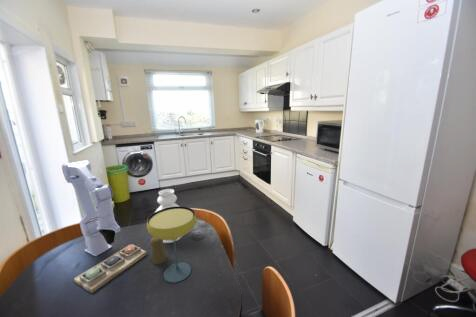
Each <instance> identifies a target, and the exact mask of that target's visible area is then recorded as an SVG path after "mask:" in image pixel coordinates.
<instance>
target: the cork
mask: <svg viewBox="0 0 476 317" xmlns="http://www.w3.org/2000/svg"><path fill="white" fill-rule="evenodd" d="M163 244H164V243H163V239H158V238H155V237H153V236H152V238H151V239H150V245H151V247H152V248H151V262H152V264H153V265H160V264H162V263H165V262H166V260H167V255H166V252H165V249H164V246H163Z"/></svg>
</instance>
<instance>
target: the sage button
mask: <svg viewBox="0 0 476 317" xmlns="http://www.w3.org/2000/svg"><path fill="white" fill-rule="evenodd" d="M89 269H90V268H89ZM89 269H88V270H89ZM86 271H87V270H86ZM98 274H100V272H99V269H98V268H93V269H90V270H89V271H87V272H86V279H88V280H91V279H92V278H94V277H95V276H97V275H98Z"/></svg>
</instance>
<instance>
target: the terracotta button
mask: <svg viewBox="0 0 476 317" xmlns="http://www.w3.org/2000/svg"><path fill="white" fill-rule="evenodd" d="M127 246H128V245H127ZM127 246H125V247H126V248H125V247H124V248H125V249H124V251H125V254H127V255H129V254H131V253H132V252H134V251H135V246H136V245H135V246H128V247H127Z"/></svg>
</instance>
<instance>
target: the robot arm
mask: <svg viewBox="0 0 476 317" xmlns="http://www.w3.org/2000/svg"><path fill="white" fill-rule="evenodd" d="M61 170H62V174H63V176H64V180H65V181H66V183H67V184H68V183H69V184H71V185H72V186H73V188H74V191H75V194H76V196H77V199H78V202H79V204H80V207H81V209H82V212H83V214H84V216H83V217H82V218H81V219H80V221H79V226H80V230H81V234H82V236H83V237H84V244H85V247H86V248H85V249H84V252H86V253H88V254H90V255H92V256H94V257H97V256H99V255H101V254H102V253H104V252H106V251H108V250H110V249H112V248H113V246H112V244H113V243H114V242H115V238H116V234H117V233H119V232H121V226H119V224H118V222H117V221H116V220H115V213H114V209H113V208H114V207H113V203H112V202H113V201H112V198H114V191H113V189H112V187H111V185H110V184H106V183H105V184H104V183H103V181H102V180H101V179H100V178H99V177H98V176H94V174H93V173H92V165H91V163H90V162H89V160H87V159H85V160H79V161H75V162H67V163H63V164H62V165H61Z"/></svg>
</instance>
